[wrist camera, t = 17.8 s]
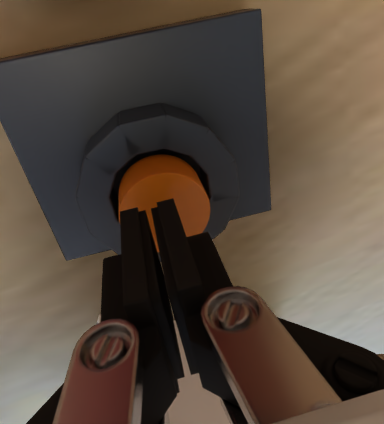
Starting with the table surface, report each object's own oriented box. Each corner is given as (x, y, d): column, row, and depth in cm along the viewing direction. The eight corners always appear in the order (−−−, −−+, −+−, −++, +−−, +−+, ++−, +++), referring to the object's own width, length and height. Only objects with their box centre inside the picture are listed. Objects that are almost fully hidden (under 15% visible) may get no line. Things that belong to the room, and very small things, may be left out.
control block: (246, 8, 13) (282, 7, 10) (259, 194, 18) (287, 230, 15) (-10, 60, 13) (-50, 74, 10) (70, 240, 17) (60, 288, 14)
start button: (193, 145, 13) (203, 162, 11) (205, 217, 14) (216, 240, 13) (107, 164, 12) (106, 185, 11) (130, 235, 14) (132, 261, 12)
